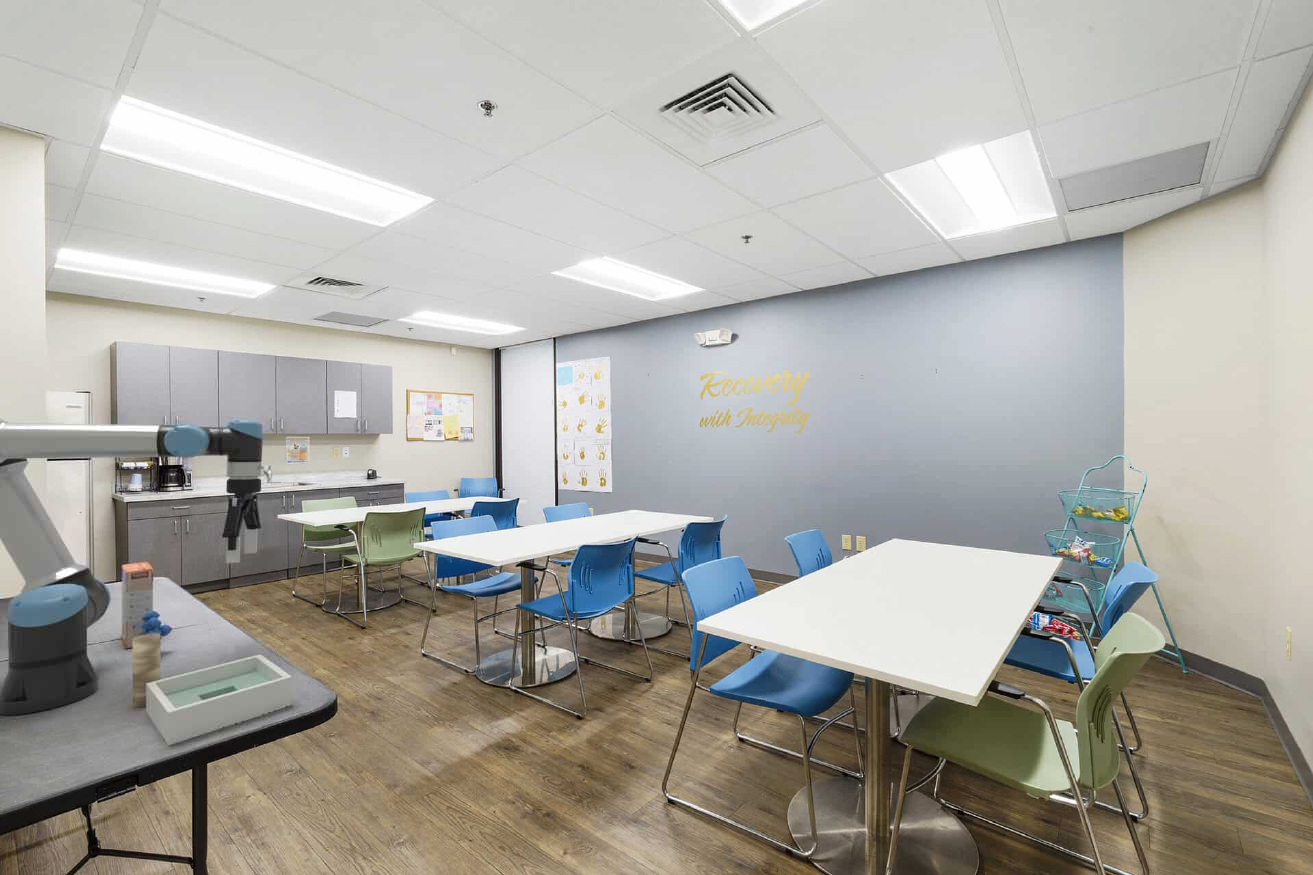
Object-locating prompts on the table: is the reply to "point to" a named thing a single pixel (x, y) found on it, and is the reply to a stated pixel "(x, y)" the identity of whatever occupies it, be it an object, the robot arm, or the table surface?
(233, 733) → the table surface
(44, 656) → the robot arm
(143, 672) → the peg
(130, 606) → the cracker box
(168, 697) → the bore box
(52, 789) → the table surface
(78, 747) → the table surface
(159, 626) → the grapes
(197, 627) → the table surface
